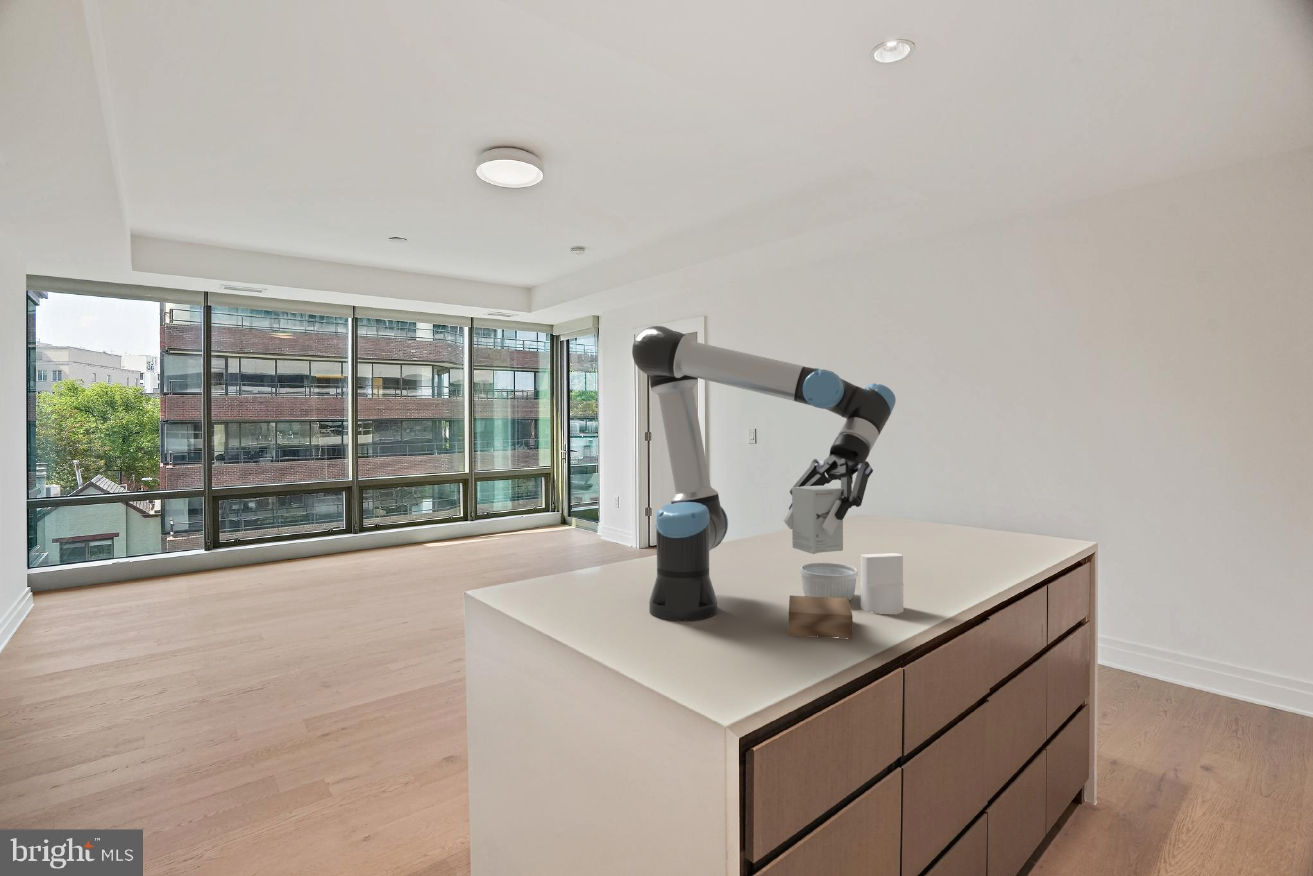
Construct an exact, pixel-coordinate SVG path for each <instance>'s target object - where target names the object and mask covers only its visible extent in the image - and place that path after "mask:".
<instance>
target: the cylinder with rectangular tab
mask: <svg viewBox="0 0 1313 876" xmlns="http://www.w3.org/2000/svg"><path fill="white" fill-rule="evenodd" d="M860 609H861V610H862V609H863V610H862V611H864V610H865V612H866V611H867V612H866V613H870V612H873V613H872V614H874V613H877V614H876V615H881V614H895V615H898V614H897V613H900V612H902V613H903V612H904V555H903V554H901V553H897V552H890V553H889V552H888V553H870V554H869V553H867V554H860ZM878 613H879V614H878ZM900 614H901V613H900Z"/></svg>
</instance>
